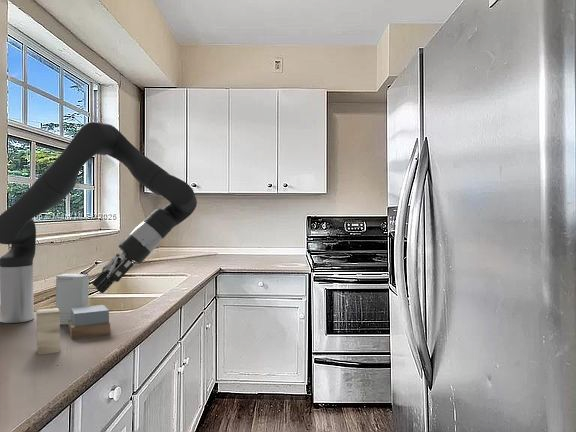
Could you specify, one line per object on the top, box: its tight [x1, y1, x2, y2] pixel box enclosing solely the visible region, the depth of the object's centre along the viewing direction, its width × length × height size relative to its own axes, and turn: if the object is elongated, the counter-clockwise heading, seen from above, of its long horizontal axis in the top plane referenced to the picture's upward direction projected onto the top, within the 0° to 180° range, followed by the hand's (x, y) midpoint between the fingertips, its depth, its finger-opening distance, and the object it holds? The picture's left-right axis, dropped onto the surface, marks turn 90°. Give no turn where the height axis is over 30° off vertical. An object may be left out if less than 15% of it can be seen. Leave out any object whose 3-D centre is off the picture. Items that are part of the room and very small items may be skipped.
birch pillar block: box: [36, 307, 61, 356], centre depth 127 cm, size 5×5×10 cm
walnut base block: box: [67, 320, 111, 340], centre depth 145 cm, size 10×10×4 cm
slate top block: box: [71, 304, 110, 327], centre depth 145 cm, size 9×9×4 cm
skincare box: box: [54, 273, 90, 326], centre depth 156 cm, size 8×6×15 cm
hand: (96, 288), depth 132 cm, fingers open, 8 cm apart
